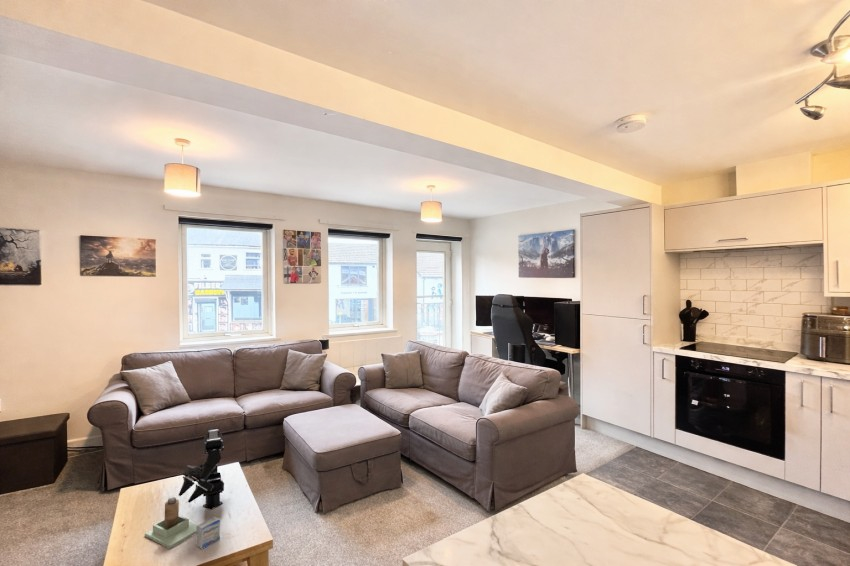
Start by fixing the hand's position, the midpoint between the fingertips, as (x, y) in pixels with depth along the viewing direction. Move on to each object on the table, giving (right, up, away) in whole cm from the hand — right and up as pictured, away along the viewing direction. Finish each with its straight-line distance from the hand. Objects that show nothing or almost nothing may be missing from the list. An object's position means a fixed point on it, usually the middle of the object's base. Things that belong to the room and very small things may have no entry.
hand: (183, 498), depth 179 cm
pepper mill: (-3, -11, -5) cm, 12 cm away
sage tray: (-1, -12, -6) cm, 13 cm away
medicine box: (+17, -12, -11) cm, 24 cm away
